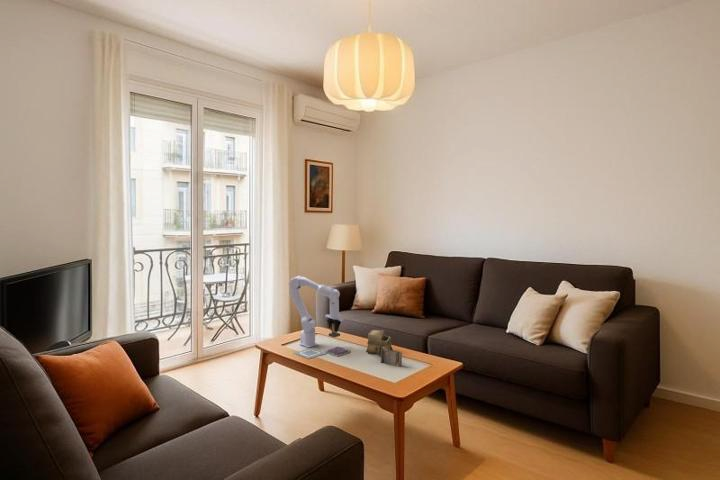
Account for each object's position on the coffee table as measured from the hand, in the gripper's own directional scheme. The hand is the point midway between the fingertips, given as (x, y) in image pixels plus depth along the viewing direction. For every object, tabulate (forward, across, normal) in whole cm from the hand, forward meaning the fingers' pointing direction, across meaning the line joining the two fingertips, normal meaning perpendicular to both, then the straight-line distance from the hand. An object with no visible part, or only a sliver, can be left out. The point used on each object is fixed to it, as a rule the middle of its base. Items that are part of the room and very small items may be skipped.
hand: (334, 331), depth 260 cm
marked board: (+10, +1, +18) cm, 21 cm away
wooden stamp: (+3, 0, 0) cm, 3 cm away
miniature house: (+10, -26, -12) cm, 31 cm away
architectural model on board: (+11, -44, -2) cm, 46 cm away
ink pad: (+10, -9, +6) cm, 15 cm away
